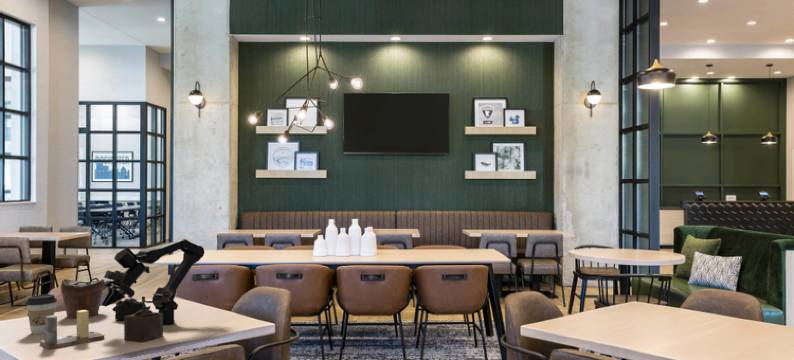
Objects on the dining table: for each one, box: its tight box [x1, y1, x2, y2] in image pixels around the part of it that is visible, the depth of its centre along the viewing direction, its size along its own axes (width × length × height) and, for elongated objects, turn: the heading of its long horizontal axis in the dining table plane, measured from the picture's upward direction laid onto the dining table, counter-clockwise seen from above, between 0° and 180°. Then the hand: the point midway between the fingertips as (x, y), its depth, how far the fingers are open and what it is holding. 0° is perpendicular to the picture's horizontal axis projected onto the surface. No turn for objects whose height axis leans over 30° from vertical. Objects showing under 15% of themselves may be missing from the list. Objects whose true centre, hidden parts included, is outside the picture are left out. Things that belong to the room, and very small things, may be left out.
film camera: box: [112, 297, 151, 322], centre depth 256 cm, size 18×12×10 cm
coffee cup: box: [25, 293, 58, 335], centre depth 234 cm, size 11×11×15 cm
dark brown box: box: [123, 290, 172, 343], centre depth 225 cm, size 16×11×18 cm
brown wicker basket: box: [60, 277, 107, 319], centre depth 267 cm, size 18×20×18 cm
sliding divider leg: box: [76, 310, 90, 338], centre depth 220 cm, size 3×8×10 cm, turn 47°
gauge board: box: [39, 314, 105, 350], centre depth 218 cm, size 20×10×12 cm, turn 137°
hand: (103, 305), depth 225 cm, fingers closed
